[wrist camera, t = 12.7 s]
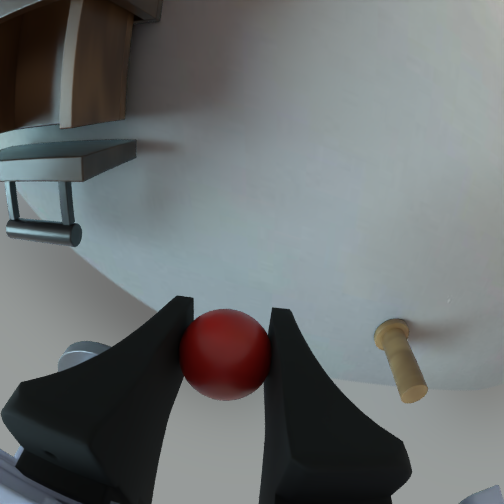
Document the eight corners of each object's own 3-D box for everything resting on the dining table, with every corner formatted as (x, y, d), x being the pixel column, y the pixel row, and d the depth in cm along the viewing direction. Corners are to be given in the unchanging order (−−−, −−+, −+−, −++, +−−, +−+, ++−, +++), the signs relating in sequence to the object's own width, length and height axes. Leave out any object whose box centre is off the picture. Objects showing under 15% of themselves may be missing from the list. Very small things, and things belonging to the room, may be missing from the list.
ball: (229, 366, 12) (218, 427, 9) (173, 318, 11) (148, 377, 9) (290, 332, 11) (292, 396, 8) (233, 275, 10) (219, 335, 8)
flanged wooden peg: (383, 351, 25) (403, 413, 19) (367, 332, 24) (387, 396, 18) (412, 333, 24) (439, 392, 18) (398, 312, 23) (427, 373, 17)
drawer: (138, 228, 20) (93, 273, 15) (19, 217, 21) (-32, 249, 15) (153, -26, 13) (109, -65, 7) (22, 10, 13) (-35, 1, 7)
